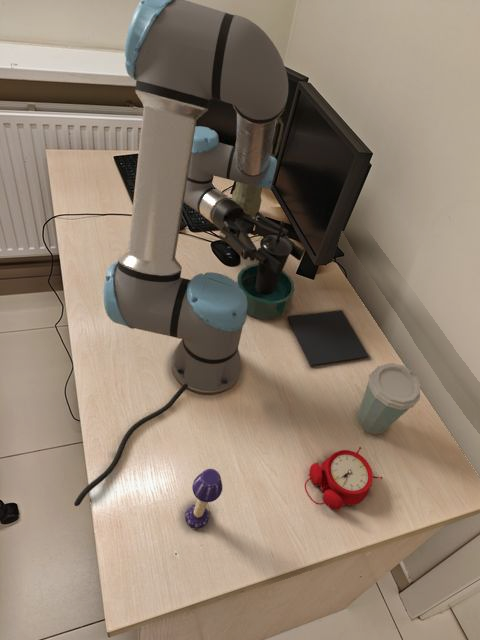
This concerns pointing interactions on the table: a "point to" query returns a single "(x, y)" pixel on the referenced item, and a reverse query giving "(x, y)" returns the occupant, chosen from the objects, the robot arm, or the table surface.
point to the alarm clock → (342, 479)
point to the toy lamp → (203, 497)
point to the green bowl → (265, 304)
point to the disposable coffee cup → (387, 397)
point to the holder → (326, 338)
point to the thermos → (249, 194)
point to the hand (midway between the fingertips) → (290, 261)
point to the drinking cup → (280, 252)
